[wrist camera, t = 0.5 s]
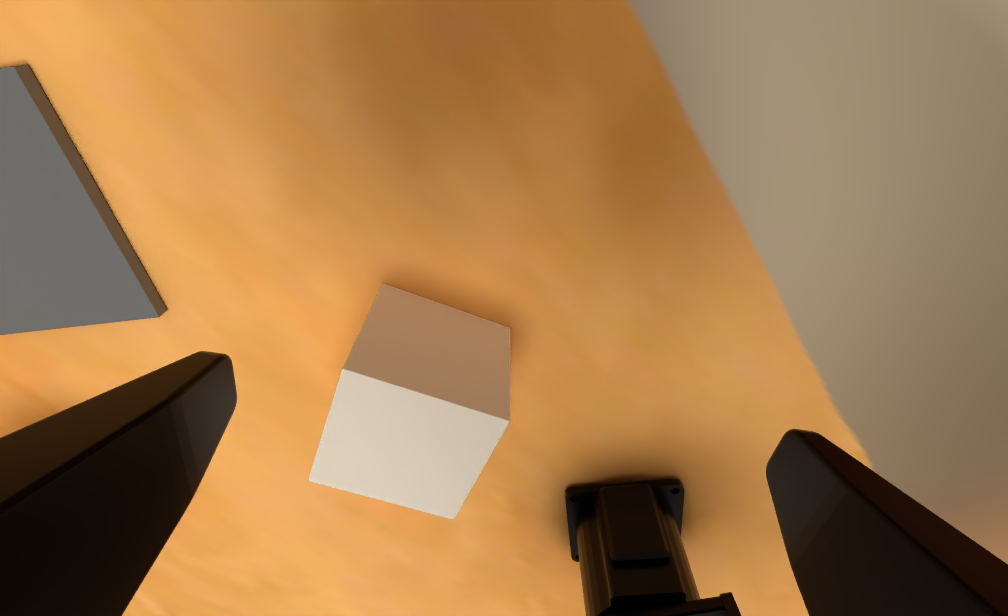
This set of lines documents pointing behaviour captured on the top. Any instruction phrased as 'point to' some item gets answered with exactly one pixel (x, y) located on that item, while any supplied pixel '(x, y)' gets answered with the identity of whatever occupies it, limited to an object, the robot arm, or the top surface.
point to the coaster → (58, 226)
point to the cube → (417, 405)
